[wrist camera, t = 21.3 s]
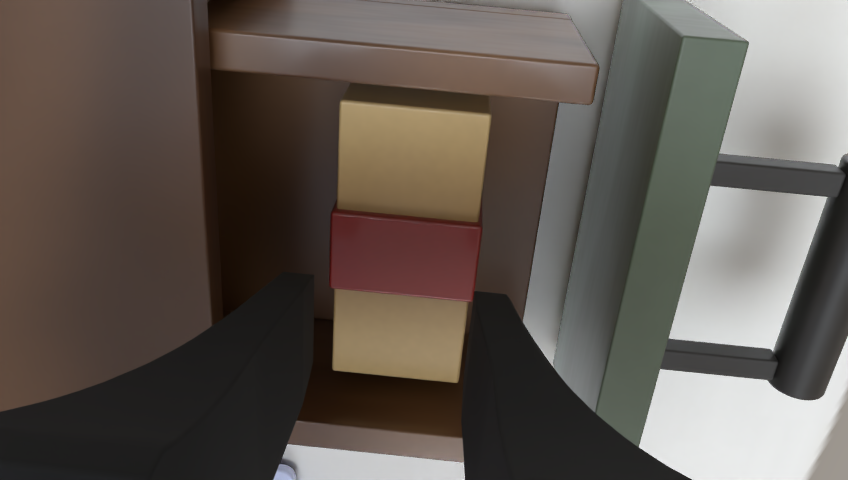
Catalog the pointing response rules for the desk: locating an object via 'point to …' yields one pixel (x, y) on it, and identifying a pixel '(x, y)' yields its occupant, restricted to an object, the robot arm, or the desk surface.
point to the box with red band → (406, 229)
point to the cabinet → (103, 190)
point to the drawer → (512, 194)
